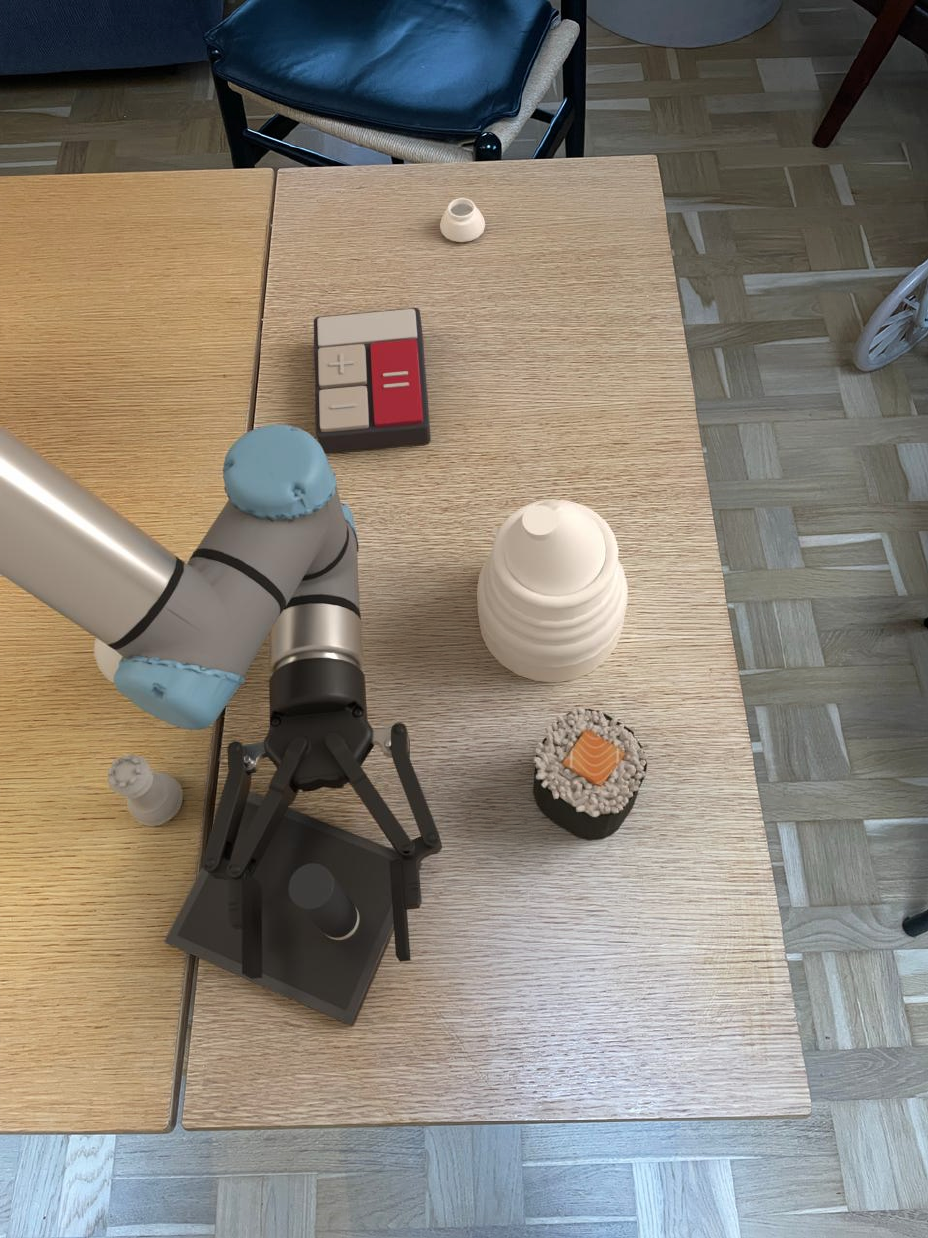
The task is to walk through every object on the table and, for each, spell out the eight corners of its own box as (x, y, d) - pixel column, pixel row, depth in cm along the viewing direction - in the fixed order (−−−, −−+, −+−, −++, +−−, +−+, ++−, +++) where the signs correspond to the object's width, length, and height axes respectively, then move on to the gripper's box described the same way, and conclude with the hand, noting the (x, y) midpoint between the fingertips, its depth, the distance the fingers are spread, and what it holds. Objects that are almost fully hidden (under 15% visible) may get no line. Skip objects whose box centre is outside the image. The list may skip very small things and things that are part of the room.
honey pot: (556, 711, 84) (566, 613, 68) (449, 620, 88) (433, 508, 72) (652, 612, 88) (682, 497, 72) (544, 530, 92) (550, 405, 76)
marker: (314, 931, 75) (280, 899, 64) (331, 894, 76) (300, 856, 66) (349, 946, 74) (321, 916, 64) (365, 908, 76) (341, 873, 65)
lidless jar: (436, 241, 110) (479, 247, 110) (434, 220, 108) (478, 225, 107) (446, 210, 112) (489, 216, 112) (445, 189, 110) (488, 194, 109)
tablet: (168, 944, 76) (162, 941, 75) (246, 793, 82) (242, 788, 80) (353, 1027, 73) (350, 1025, 72) (422, 863, 78) (420, 860, 77)
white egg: (197, 695, 86) (171, 660, 79) (113, 711, 86) (80, 677, 79) (191, 597, 91) (166, 556, 84) (111, 612, 90) (79, 572, 84)
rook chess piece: (191, 779, 82) (160, 746, 75) (176, 831, 80) (143, 802, 73) (140, 772, 83) (105, 739, 76) (124, 823, 81) (86, 794, 74)
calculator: (314, 432, 94) (311, 311, 100) (321, 457, 98) (319, 339, 104) (428, 422, 94) (418, 301, 100) (431, 447, 98) (422, 329, 104)
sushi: (567, 724, 83) (572, 686, 76) (654, 777, 81) (667, 744, 74) (514, 801, 80) (514, 769, 73) (602, 858, 78) (611, 832, 71)
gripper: (459, 676, 81) (490, 956, 71) (190, 707, 81) (182, 992, 71) (454, 636, 75) (487, 939, 64) (161, 670, 75) (148, 978, 64)
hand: (327, 967), depth 68 cm, fingers open, 10 cm apart
